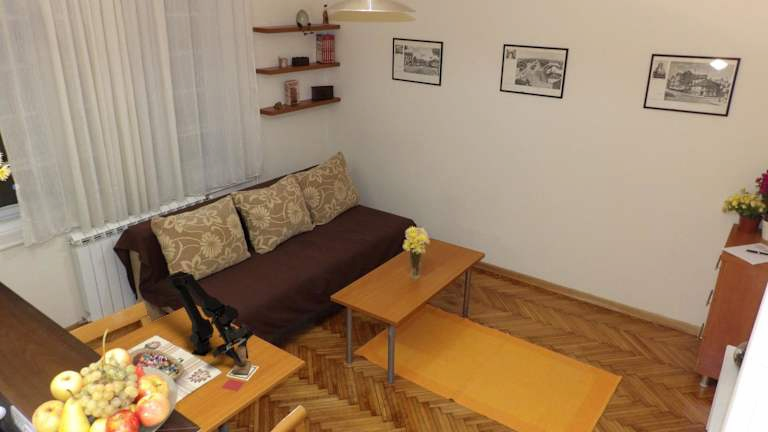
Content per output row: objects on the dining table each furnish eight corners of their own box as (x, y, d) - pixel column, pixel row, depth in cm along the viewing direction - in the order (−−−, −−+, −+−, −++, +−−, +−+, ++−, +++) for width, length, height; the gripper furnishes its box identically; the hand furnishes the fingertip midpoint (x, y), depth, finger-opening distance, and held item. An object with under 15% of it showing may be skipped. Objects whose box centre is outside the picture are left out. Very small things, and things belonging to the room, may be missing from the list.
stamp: (233, 374, 233) (232, 352, 229) (237, 366, 239) (235, 343, 235) (247, 375, 233) (246, 352, 229) (251, 366, 239) (250, 344, 235)
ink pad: (219, 390, 225) (219, 388, 225) (228, 380, 232) (228, 378, 231) (237, 394, 223) (237, 392, 223) (246, 383, 230) (246, 381, 229)
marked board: (225, 377, 233) (225, 375, 233) (238, 364, 242) (237, 362, 242) (247, 382, 231) (247, 380, 230) (259, 368, 240) (259, 366, 239)
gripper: (214, 330, 223) (234, 364, 221) (250, 312, 238) (269, 343, 236) (203, 340, 230) (222, 373, 228) (239, 322, 245) (257, 353, 242)
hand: (244, 360), depth 233 cm, fingers closed on stamp, 4 cm apart
